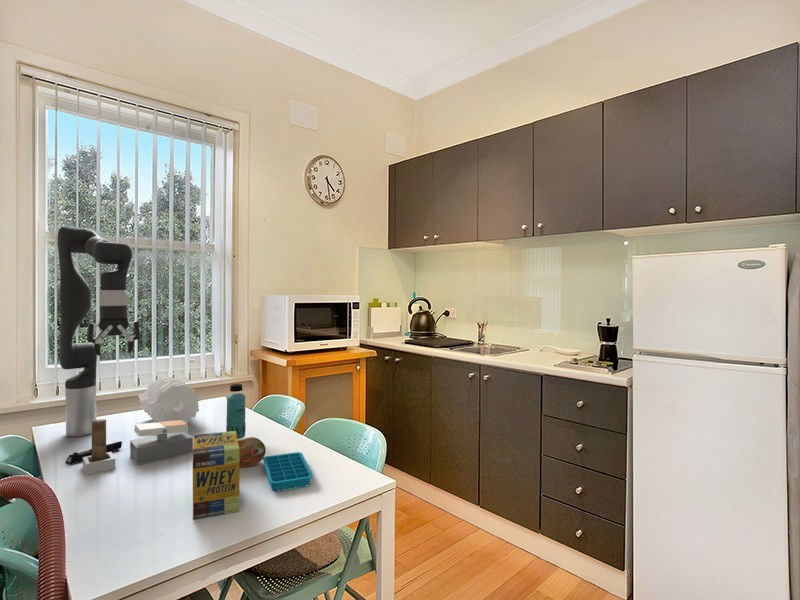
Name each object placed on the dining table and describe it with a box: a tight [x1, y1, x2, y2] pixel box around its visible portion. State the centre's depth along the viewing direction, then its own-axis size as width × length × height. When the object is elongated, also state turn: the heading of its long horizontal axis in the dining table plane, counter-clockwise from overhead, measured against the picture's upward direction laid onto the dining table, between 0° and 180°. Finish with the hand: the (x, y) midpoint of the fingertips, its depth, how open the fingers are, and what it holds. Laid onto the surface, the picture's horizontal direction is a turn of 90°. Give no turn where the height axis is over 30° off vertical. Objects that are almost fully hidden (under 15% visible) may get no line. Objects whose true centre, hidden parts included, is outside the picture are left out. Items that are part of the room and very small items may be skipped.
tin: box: [237, 436, 266, 469], centre depth 135 cm, size 15×3×8 cm, turn 117°
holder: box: [82, 451, 116, 476], centre depth 134 cm, size 7×7×3 cm
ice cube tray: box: [262, 451, 314, 492], centre depth 129 cm, size 12×20×3 cm, turn 22°
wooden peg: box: [91, 418, 107, 462], centre depth 134 cm, size 4×4×14 cm
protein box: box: [192, 431, 240, 520], centre depth 113 cm, size 10×15×16 cm
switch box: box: [129, 431, 194, 466], centre depth 145 cm, size 10×16×7 cm, turn 131°
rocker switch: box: [134, 420, 189, 437], centre depth 145 cm, size 8×14×2 cm, turn 131°
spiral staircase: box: [137, 376, 201, 425], centre depth 178 cm, size 18×18×25 cm
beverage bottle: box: [225, 383, 247, 439], centre depth 157 cm, size 6×7×20 cm
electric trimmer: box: [65, 440, 123, 466], centre depth 143 cm, size 4×16×3 cm, turn 147°
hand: (114, 354), depth 146 cm, fingers open, 8 cm apart
